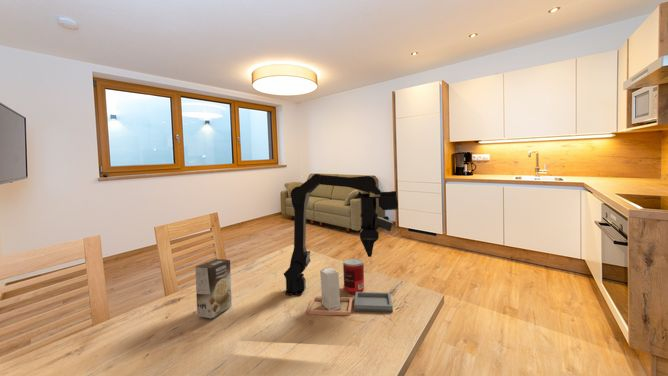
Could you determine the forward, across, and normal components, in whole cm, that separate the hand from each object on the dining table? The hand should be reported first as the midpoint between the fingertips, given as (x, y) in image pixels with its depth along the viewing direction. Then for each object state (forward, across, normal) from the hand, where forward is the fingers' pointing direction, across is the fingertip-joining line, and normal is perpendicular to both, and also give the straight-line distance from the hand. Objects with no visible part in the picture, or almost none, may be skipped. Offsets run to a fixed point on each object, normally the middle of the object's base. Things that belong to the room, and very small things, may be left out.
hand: (369, 253), depth 99 cm
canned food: (+15, +3, +6) cm, 17 cm away
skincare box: (+15, -11, +13) cm, 23 cm away
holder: (+15, -11, +13) cm, 23 cm away
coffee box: (+15, -16, +51) cm, 56 cm away
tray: (+15, -8, -1) cm, 17 cm away
